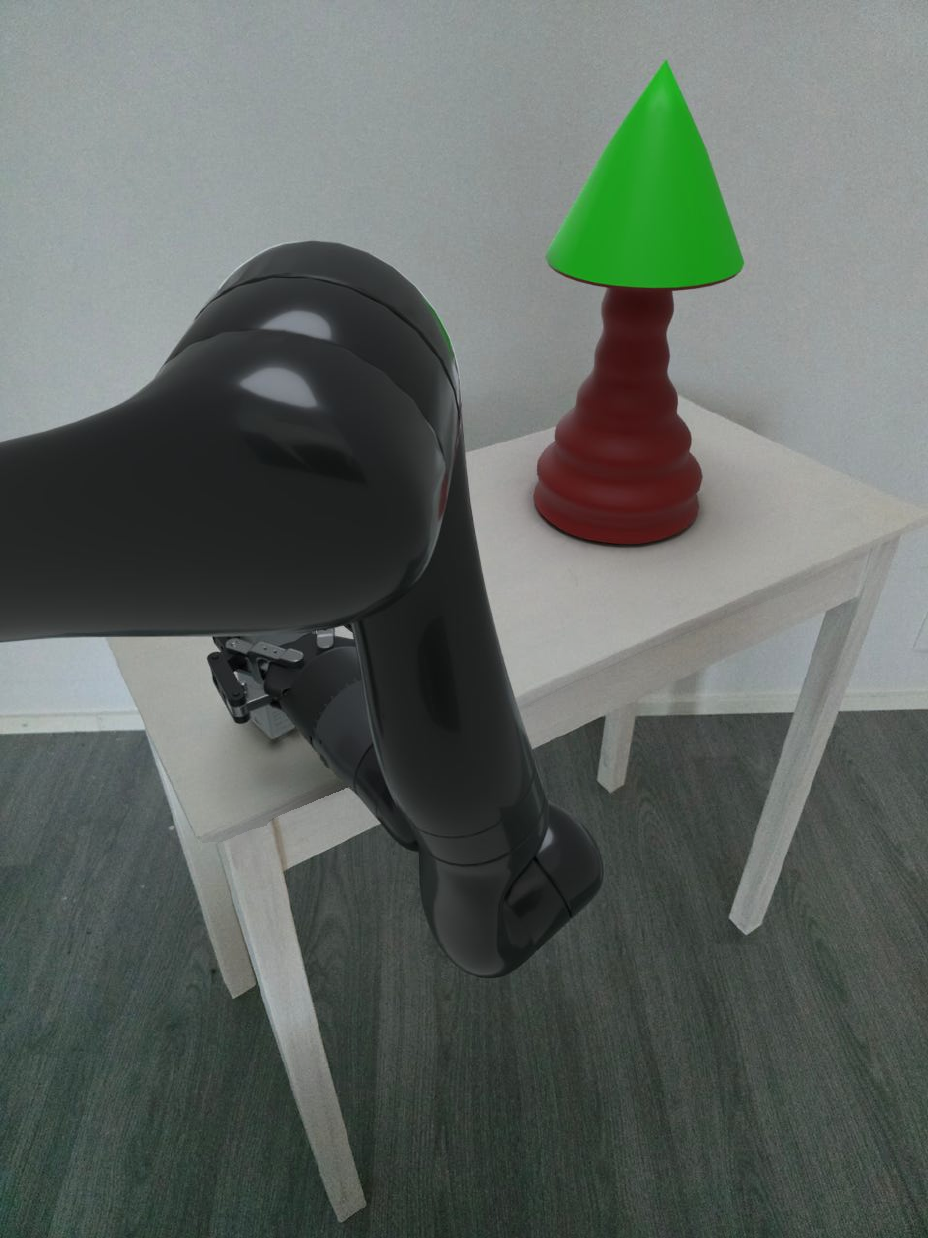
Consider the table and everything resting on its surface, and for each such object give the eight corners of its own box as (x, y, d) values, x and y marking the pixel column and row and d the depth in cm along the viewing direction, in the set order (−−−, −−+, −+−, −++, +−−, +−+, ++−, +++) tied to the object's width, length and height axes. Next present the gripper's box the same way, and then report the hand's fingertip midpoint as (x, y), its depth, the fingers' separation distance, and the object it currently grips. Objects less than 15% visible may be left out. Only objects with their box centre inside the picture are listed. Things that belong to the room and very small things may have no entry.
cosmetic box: (273, 742, 71) (248, 632, 63) (244, 716, 73) (217, 607, 66) (331, 706, 74) (314, 597, 67) (301, 682, 77) (282, 574, 69)
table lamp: (733, 515, 99) (834, 60, 71) (601, 567, 91) (654, 77, 63) (625, 449, 112) (674, 44, 84) (502, 489, 104) (510, 57, 76)
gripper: (445, 642, 60) (328, 540, 70) (261, 731, 53) (162, 604, 63) (447, 716, 64) (337, 611, 75) (279, 807, 57) (184, 677, 68)
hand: (257, 608), depth 69 cm, fingers closed on cosmetic box, 6 cm apart
